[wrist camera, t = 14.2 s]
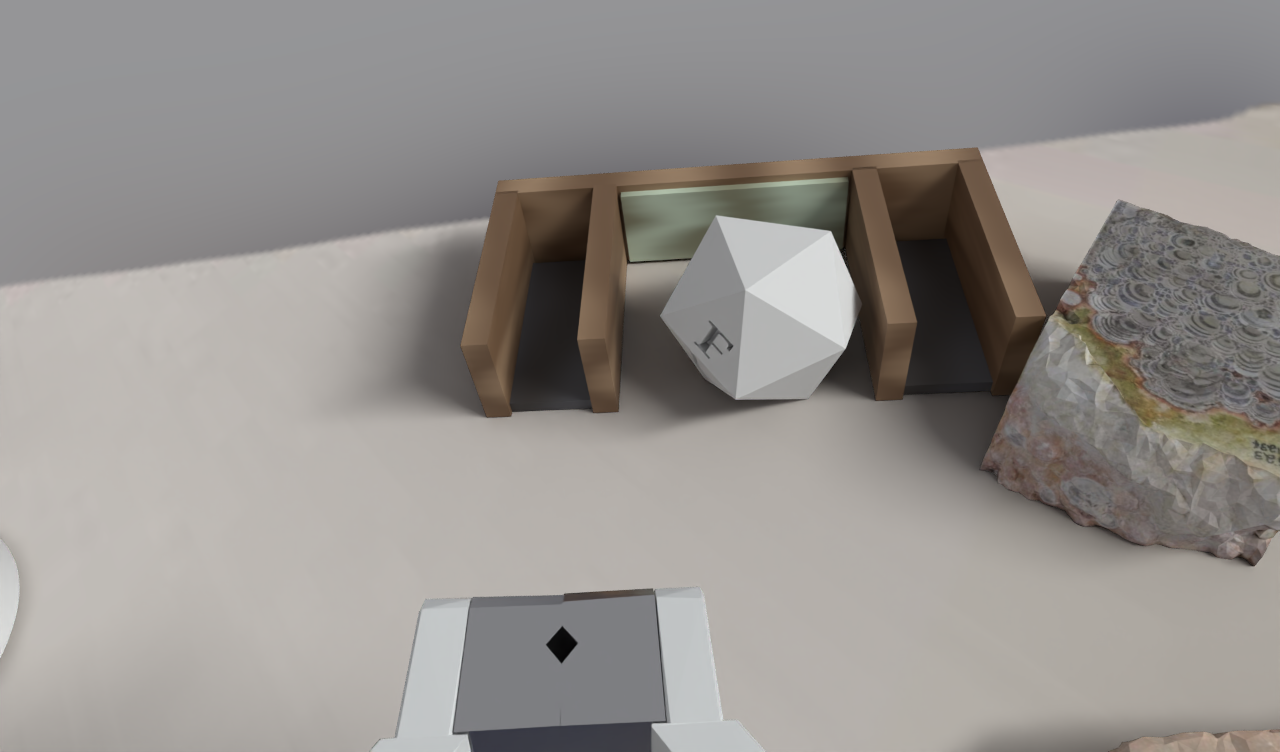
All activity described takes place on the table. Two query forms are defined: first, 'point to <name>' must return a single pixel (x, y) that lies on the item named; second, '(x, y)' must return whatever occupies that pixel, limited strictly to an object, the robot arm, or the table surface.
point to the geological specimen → (1156, 391)
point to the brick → (1207, 742)
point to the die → (764, 308)
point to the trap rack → (768, 192)
